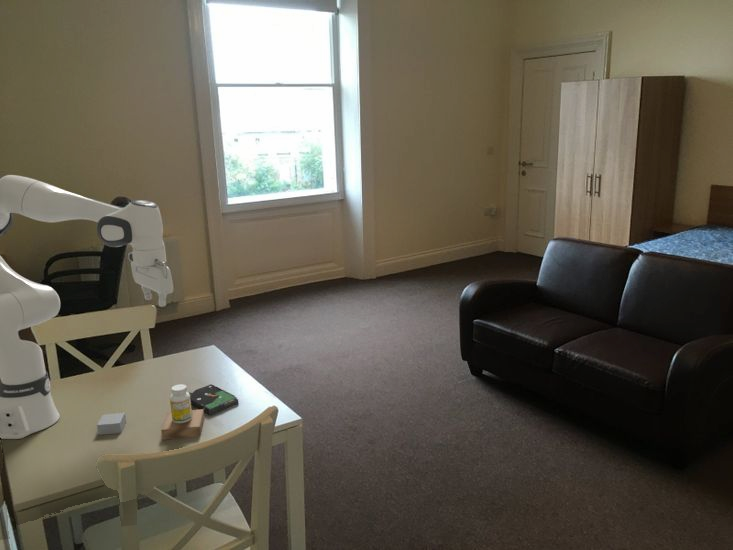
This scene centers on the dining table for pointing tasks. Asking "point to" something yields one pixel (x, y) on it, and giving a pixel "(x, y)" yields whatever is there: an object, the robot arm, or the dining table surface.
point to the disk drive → (212, 399)
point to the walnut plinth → (183, 426)
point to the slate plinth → (111, 423)
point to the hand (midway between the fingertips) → (155, 302)
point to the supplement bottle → (180, 404)
